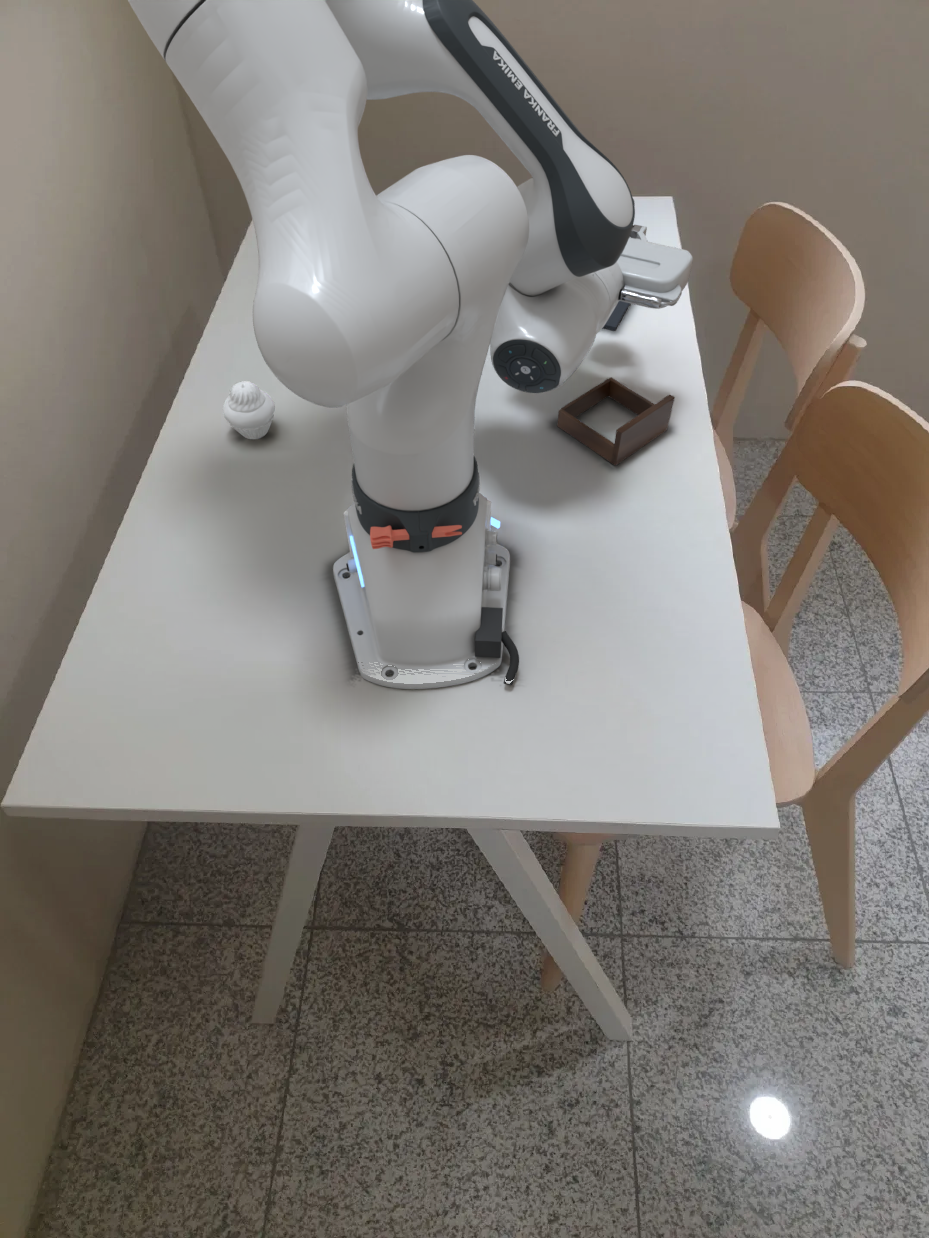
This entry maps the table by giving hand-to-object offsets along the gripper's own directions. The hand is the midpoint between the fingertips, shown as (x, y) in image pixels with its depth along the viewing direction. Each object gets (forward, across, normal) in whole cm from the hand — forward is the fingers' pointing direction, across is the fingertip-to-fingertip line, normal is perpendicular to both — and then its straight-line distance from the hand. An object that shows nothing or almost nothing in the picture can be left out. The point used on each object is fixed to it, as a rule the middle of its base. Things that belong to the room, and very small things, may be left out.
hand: (620, 227), depth 99 cm
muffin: (-33, +34, +17) cm, 50 cm away
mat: (+10, +5, +17) cm, 20 cm away
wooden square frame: (-14, -6, +17) cm, 23 cm away
